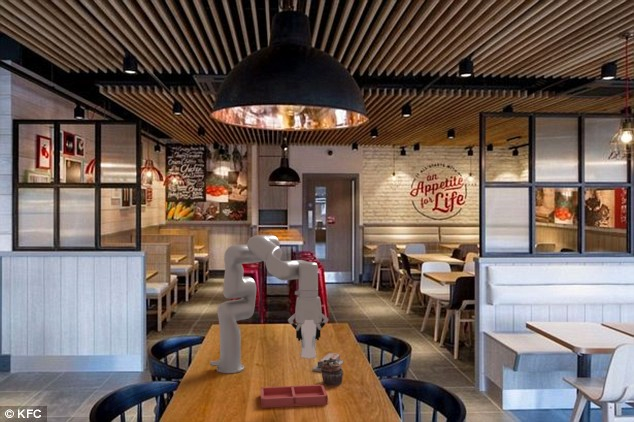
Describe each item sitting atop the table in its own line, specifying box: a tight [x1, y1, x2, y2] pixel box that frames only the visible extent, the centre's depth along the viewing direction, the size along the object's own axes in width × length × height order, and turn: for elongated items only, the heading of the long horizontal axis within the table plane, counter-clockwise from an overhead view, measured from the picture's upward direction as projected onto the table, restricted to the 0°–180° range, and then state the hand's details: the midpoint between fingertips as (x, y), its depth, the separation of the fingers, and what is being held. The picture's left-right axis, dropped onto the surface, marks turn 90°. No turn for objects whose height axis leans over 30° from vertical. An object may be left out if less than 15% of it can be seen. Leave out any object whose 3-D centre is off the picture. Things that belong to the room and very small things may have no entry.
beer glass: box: [300, 320, 317, 360], centre depth 204 cm, size 7×7×15 cm
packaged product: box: [312, 352, 345, 373], centre depth 246 cm, size 18×5×10 cm
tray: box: [260, 384, 329, 409], centre depth 203 cm, size 25×13×3 cm, turn 97°
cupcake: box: [320, 358, 344, 387], centre depth 223 cm, size 10×10×10 cm
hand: (308, 339), depth 204 cm, fingers closed on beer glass, 6 cm apart
